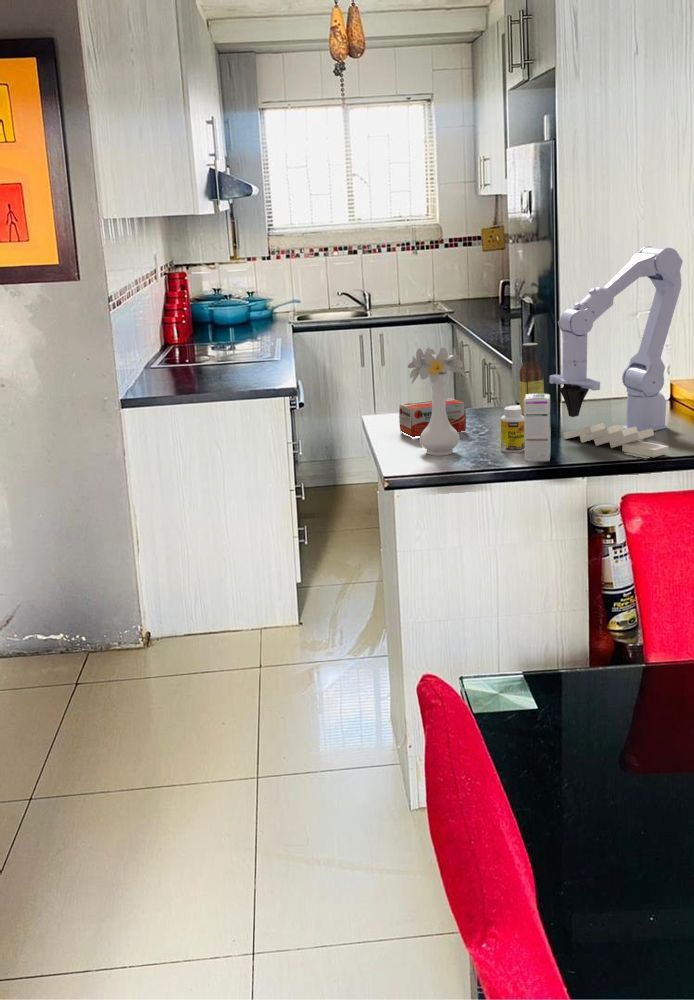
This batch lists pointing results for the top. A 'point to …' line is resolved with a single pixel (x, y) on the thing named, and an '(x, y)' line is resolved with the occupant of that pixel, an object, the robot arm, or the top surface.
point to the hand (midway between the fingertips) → (573, 416)
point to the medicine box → (419, 415)
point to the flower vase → (437, 398)
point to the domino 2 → (600, 433)
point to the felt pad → (637, 455)
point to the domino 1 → (584, 431)
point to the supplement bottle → (512, 430)
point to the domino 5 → (645, 448)
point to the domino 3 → (615, 436)
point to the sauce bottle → (530, 373)
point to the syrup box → (537, 427)
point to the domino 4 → (631, 438)
